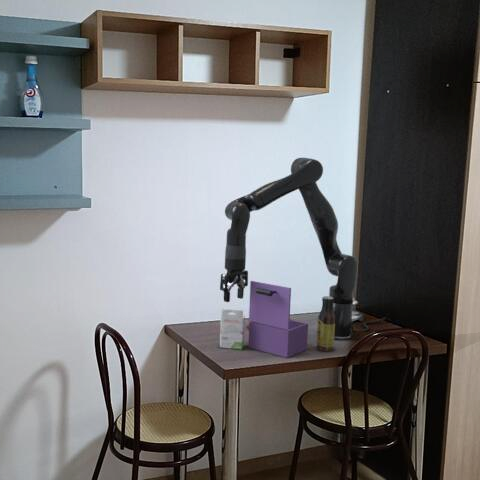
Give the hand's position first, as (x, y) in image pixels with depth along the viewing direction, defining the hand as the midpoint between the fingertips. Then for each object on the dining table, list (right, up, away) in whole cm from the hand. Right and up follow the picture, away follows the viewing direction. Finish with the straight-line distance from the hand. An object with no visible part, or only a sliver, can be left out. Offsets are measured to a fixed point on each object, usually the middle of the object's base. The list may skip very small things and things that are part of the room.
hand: (233, 299), depth 237 cm
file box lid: (+13, -1, -5) cm, 14 cm away
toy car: (+53, -13, +44) cm, 70 cm away
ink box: (0, -18, +3) cm, 18 cm away
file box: (+17, -18, +2) cm, 25 cm away
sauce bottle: (+34, -19, +2) cm, 39 cm away
